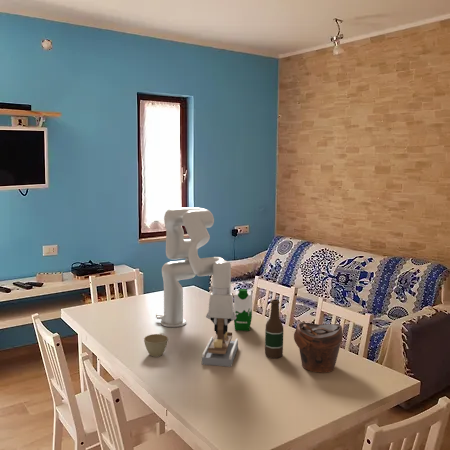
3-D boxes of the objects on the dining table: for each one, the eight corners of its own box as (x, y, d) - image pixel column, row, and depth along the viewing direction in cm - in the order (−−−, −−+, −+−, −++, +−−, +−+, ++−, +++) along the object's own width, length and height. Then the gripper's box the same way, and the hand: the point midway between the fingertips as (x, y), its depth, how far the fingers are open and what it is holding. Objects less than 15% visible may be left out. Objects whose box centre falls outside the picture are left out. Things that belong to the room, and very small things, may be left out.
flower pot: (139, 357, 202) (139, 340, 201) (151, 348, 211) (151, 332, 210) (161, 360, 198) (161, 344, 197) (172, 351, 208) (172, 335, 207)
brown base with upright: (225, 354, 194) (225, 320, 192) (208, 352, 195) (208, 319, 193) (232, 337, 212) (232, 306, 210) (216, 336, 213) (216, 305, 212)
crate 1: (213, 348, 196) (213, 341, 195) (215, 346, 199) (215, 339, 198) (221, 349, 195) (221, 342, 195) (222, 346, 198) (222, 339, 198)
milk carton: (232, 331, 234) (233, 290, 231) (234, 324, 243) (235, 285, 240) (251, 331, 233) (252, 291, 230) (252, 325, 242) (252, 286, 239)
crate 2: (219, 337, 209) (219, 330, 208) (220, 334, 211) (220, 328, 211) (226, 337, 208) (226, 331, 208) (227, 335, 211) (227, 328, 211)
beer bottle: (284, 352, 208) (286, 298, 205) (280, 359, 201) (282, 303, 198) (267, 350, 211) (268, 296, 207) (262, 357, 203) (263, 301, 200)
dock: (201, 364, 195) (201, 354, 195) (211, 345, 215) (211, 336, 214) (231, 366, 194) (231, 356, 193) (237, 347, 213) (238, 338, 213)
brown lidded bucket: (284, 361, 199) (286, 319, 197) (324, 354, 207) (327, 314, 205) (307, 380, 183) (310, 334, 181) (350, 372, 191) (353, 328, 188)
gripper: (200, 291, 198) (200, 334, 201) (239, 294, 196) (238, 337, 198) (204, 287, 205) (203, 328, 208) (242, 289, 203) (241, 331, 205)
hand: (220, 332), depth 203 cm, fingers closed on brown base with upright, 2 cm apart
